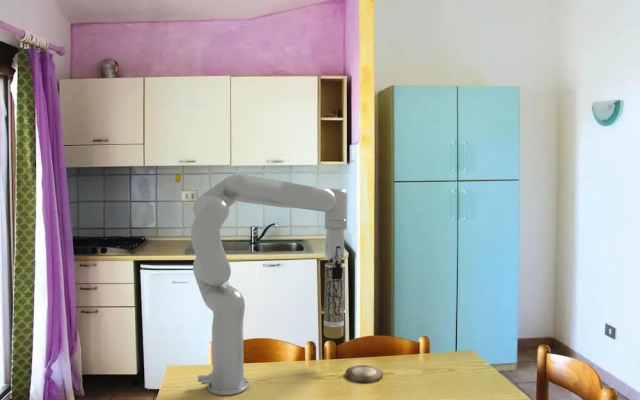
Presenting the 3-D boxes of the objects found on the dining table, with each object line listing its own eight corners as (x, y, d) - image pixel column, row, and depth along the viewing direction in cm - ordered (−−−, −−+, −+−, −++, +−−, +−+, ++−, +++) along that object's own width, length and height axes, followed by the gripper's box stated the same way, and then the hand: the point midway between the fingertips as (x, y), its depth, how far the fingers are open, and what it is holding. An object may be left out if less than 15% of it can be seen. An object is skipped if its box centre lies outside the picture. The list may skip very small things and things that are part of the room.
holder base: (350, 384, 168) (350, 380, 167) (342, 370, 179) (342, 366, 179) (387, 381, 170) (387, 377, 170) (376, 367, 181) (376, 363, 181)
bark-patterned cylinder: (341, 339, 179) (343, 266, 178) (321, 338, 180) (323, 265, 179) (344, 334, 186) (346, 263, 184) (325, 332, 187) (327, 262, 186)
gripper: (320, 222, 189) (319, 272, 190) (329, 227, 172) (328, 282, 173) (341, 222, 190) (339, 271, 191) (352, 227, 173) (351, 281, 174)
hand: (334, 276), depth 182 cm, fingers closed on bark-patterned cylinder, 6 cm apart
